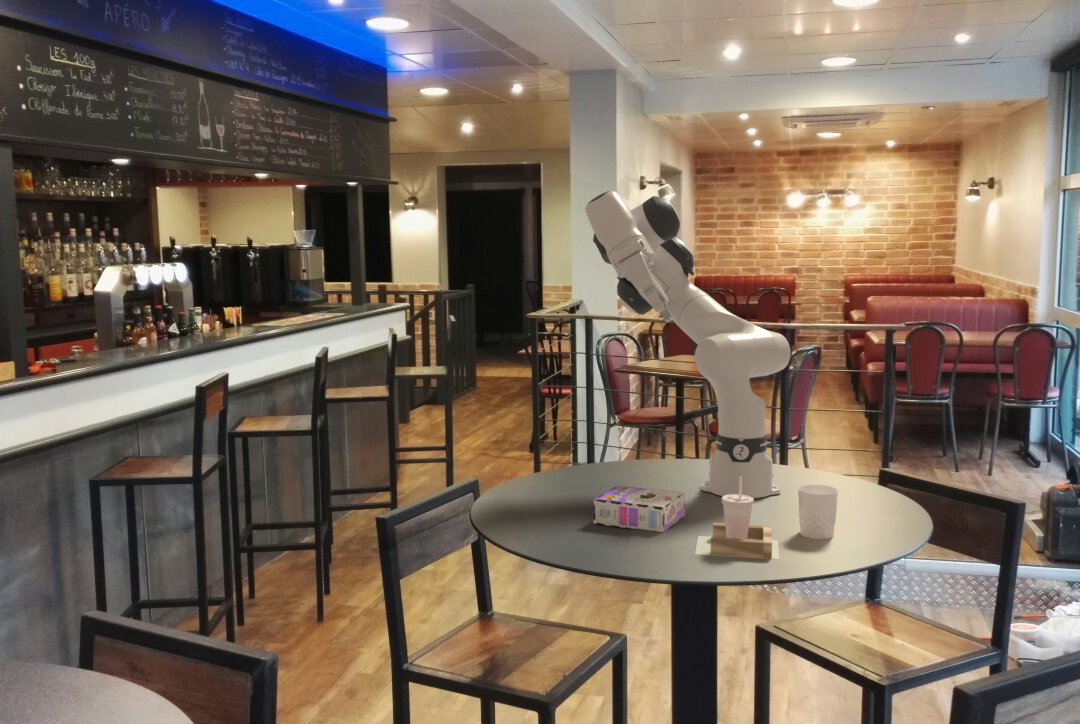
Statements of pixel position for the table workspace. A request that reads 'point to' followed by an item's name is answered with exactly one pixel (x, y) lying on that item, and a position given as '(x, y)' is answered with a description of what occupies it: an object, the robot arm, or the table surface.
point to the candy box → (639, 508)
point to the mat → (705, 549)
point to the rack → (742, 542)
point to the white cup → (817, 511)
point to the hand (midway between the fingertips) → (665, 315)
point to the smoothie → (737, 513)
